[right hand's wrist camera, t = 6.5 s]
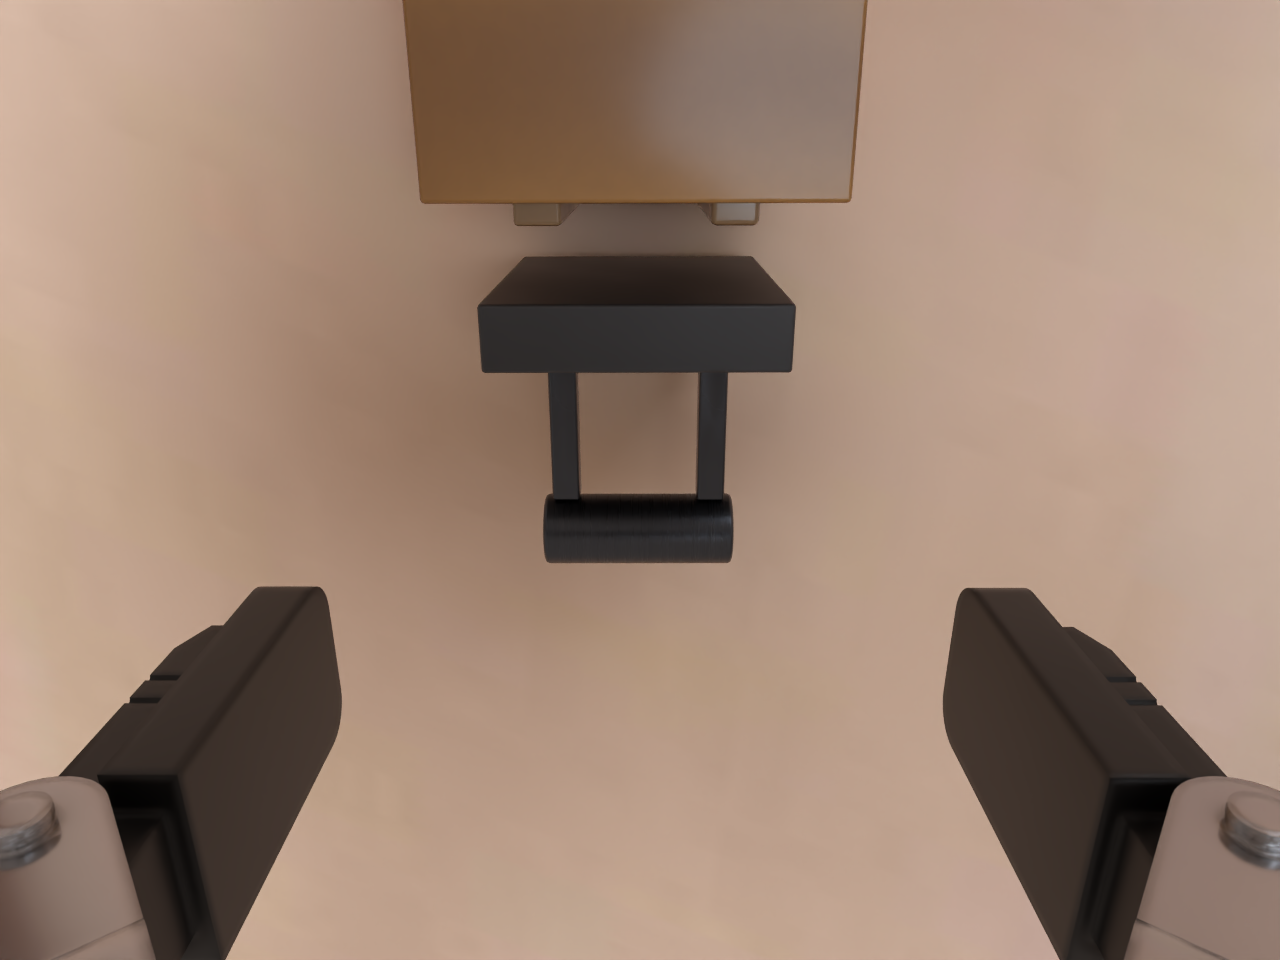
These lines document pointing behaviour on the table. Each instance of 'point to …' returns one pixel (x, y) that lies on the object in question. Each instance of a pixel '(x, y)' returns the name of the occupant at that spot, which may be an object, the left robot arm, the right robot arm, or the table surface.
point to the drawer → (637, 343)
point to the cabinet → (635, 100)
